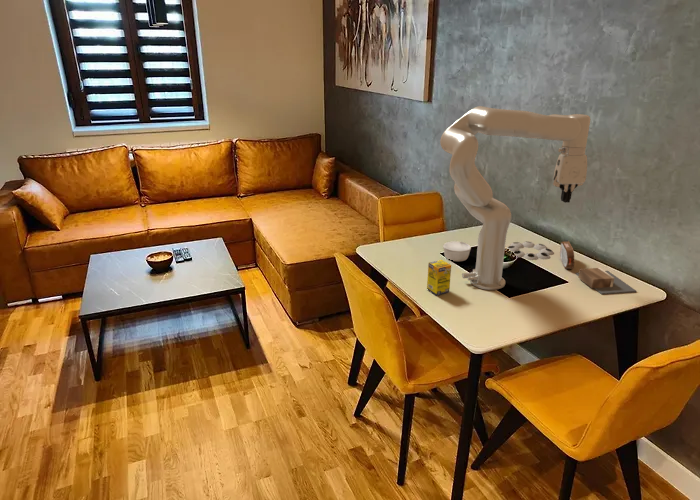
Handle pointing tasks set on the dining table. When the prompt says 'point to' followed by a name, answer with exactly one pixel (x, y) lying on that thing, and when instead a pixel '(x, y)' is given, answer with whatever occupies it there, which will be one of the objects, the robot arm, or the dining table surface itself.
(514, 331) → the dining table surface
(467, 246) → the ramekin
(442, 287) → the supplement box
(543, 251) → the paint palette
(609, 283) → the block
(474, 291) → the dining table surface
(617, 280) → the mat
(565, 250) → the tin
